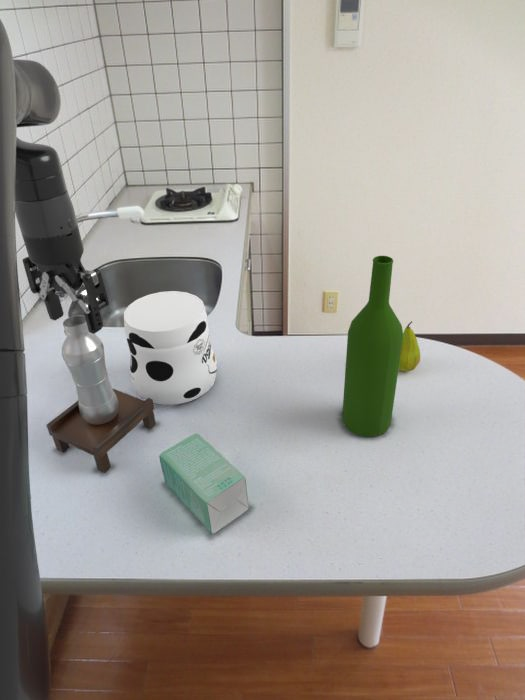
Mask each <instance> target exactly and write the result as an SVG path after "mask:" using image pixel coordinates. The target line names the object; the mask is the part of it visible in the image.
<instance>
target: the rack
mask: <svg viewBox="0 0 525 700" xmlns="http://www.w3.org/2000/svg"><path fill="white" fill-rule="evenodd" d="M112 389H113V391H114V392H115V394H116V396H117V398H118V401H119V411H118V413H117V415H116V416H115V418H114V419H112V420H111V421H109V422H107V423H104V424H100V425H94V424H90V423H88V422H86V421H85V420H84V419H83V417H82V415H81V414H80V411H79V403H78V401H79V399H78V400H76V401H75V402H73V403H72V404H71V405H70V406H69V407H67V408H66V409H65V410H63V411H62V412H61V413H60V414H58V415H57V416H56V417H54V418H53V419H52V420H50V421H49V422H48V423H46V424H45V427H46V428H47V432H48V435H49V436H50V437H51V438H52V440H53V443H54V446H55V448H56V451H58V452H60V453H62V454H64V453H65V452H66V451H68V450H69V449H70V446H72V447H74V448H77V449H78V450H80V451H83V452H85V453H87V454H89V455H90V456H93V459H94V462H95V466H96V468H97V471H99V472H101V473H102V474H106V473H107V472H108V471H109V470H110V469H111V468H112V464H111V461H110V458H109V455H108V452H109V451H110V450H111V449H113V448H114V446H116V445H117V444H119V442H121V440H123V438H125V437H126V436H127V435H128V434H129V433H130V432H131V431H132V430H134V429H135V427H137V426H138V425H139V424H140V423H142V424H143V428H145V429H148V430H150V431H152V429H153V428H154V427H156V425H157V422H156V418H155V413H154V410H155V404H153V399H151V398H147V399H146V400H144V399H142V398H139V397H136V396H133V395H131V394H129V393H126V392H123V391H121V390H118V389H116V388H114V387H112Z"/></svg>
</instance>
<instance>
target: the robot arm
mask: <svg viewBox="0 0 525 700" xmlns="http://www.w3.org/2000/svg"><path fill="white" fill-rule="evenodd" d="M11 46H12V45H11V42H10V39H9V35H8V32H7V30H6V27H5V24H4V23H3V21H2V19H1V18H0V700H51V695H52V664H51V663H52V662H51V652H50V650H51V649H50V640H49V631H48V625H47V616H46V610H45V609H46V608H45V602H44V595H43V589H42V582H41V574H40V568H39V561H38V554H37V546H36V539H35V538H36V537H35V531H34V530H35V529H34V521H33V511H32V510H33V509H32V497H31V496H32V495H31V482H30V481H31V480H30V479H31V478H30V460H29V419H28V418H29V415H28V414H29V413H28V386H27V384H28V383H27V367H26V353H24V352H25V351H26V350H25V348H26V347H25V337H24V327H23V317H22V306H21V296H20V295H21V294H20V284H19V283H20V282H19V274H18V273H19V271H18V257H17V238H16V236H17V235H16V220H17V223H18V227H19V229H20V233H21V237H22V239H23V242H24V246H25V249H26V251H27V255H28V256H26V257H24V258H22V264H23V267H24V271H25V275H26V278H27V282H28V286H29V289H30V291H31V293H32V294H38V295H39V298H40V299H41V300H42V301H43V302H44V305H45V308H46V312H47V314H48V317H49V319H50V320H51V321H57V320H60V318H62V317H63V316H64V310H63V306H62V301H61V298H60V296H59V295H60V294H57V293H58V292H62V293H64V294H66V295H67V296H69V298H70V299H71V300H72V302H74V303H78V305H79V307H80V308H81V309H82V310H83V316H85V319H86V323H87V327H88V330H89V332H90V333H93V334H95V335H96V334H97V333H98V332H99V331H101V330H102V329H103V327H104V323H103V319H102V314H101V310H104V309H105V308H107V307H108V306H109V305H110V301H109V297H108V294H107V290H106V287H105V282H104V280H103V275H102V273H101V271H100V269H99V268H94V269H92V270H88V269H85V267H84V265H83V263H82V256H83V254H84V251H85V250H84V249H85V248H84V244H83V239H82V237H81V232H80V228H79V225H78V224H79V223H78V220H77V216H76V212H75V208H74V205H73V202H72V200H71V199H72V198H71V197H70V194H69V192H68V191H69V190H68V187H67V183H66V180H65V179H66V178H65V176H64V175H65V174H64V172H63V167H62V163H61V160H60V159H61V158H60V157H59V154H58V152H57V150H56V149H55V148H54V147H52V146H51V145H47V144H43V143H42V144H41V143H36V142H35V143H34V142H28V141H26V140H22V139H20V138H19V137H18V136H17V130H18V129H19V128H28V127H30V128H31V127H41V126H48V125H51V124H52V123H54V122H55V121H56V120H57V118H58V117H59V114H60V111H61V103H62V102H61V101H62V100H61V93H60V89H59V86H58V84H57V81H56V79H55V78H54V76H53V74H51V73H52V72H50V70H48V68H46V66H45V65H43V64H42V63H40V62H38V61H37V60H31V59H16V58H15V59H14V57H13V51H12V47H11ZM37 279H38V280H39V282H38V283H37ZM82 287H83V289H84V290H82V291H81V292H77V291H79V290H81V288H82ZM86 297H87V299H88V302H87V301H86V299H85V298H86ZM98 297H99V298H98Z"/></svg>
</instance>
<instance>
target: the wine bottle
mask: <svg viewBox="0 0 525 700" xmlns="http://www.w3.org/2000/svg"><path fill="white" fill-rule="evenodd" d="M393 264H394V259H393V258H392V257H390V256H388V255H377V256H375V257H373V258H372V267H371V276H370V285H369V286H370V287H369V295H368V300H367V302H366V304H365V305H364V307H362V309H361V310H360V311H359V312H358V313H357V315H356V316H354V318H353V319H352V320H351V322H350V324H349V327H348V331H347V339H346V340H347V342H346V353H345V354H346V355H345V370H344V384H343V385H344V386H343V400H342V412H341V419H342V423H343V426H344V427H345V428H346V429H347V431H349V432H351V434H353V435H356V436H359V437H362V438H376V437H381V436H382V435H383V434H385V433H386V432H388V430H389V429H390V428H391V425H392V418H393V411H394V406H395V405H394V404H395V397H396V389H397V384H398V383H397V382H398V375H399V370H398V369H399V362H400V355H401V348H402V341H403V332H404V330H403V326H402V323H401V321H400V320H399V318H398V317H397V315H396V313H395V311H394V310H393V308H392V307H391V305H390V297H391V296H390V294H391V286H392V285H391V284H392V274H393Z"/></svg>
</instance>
